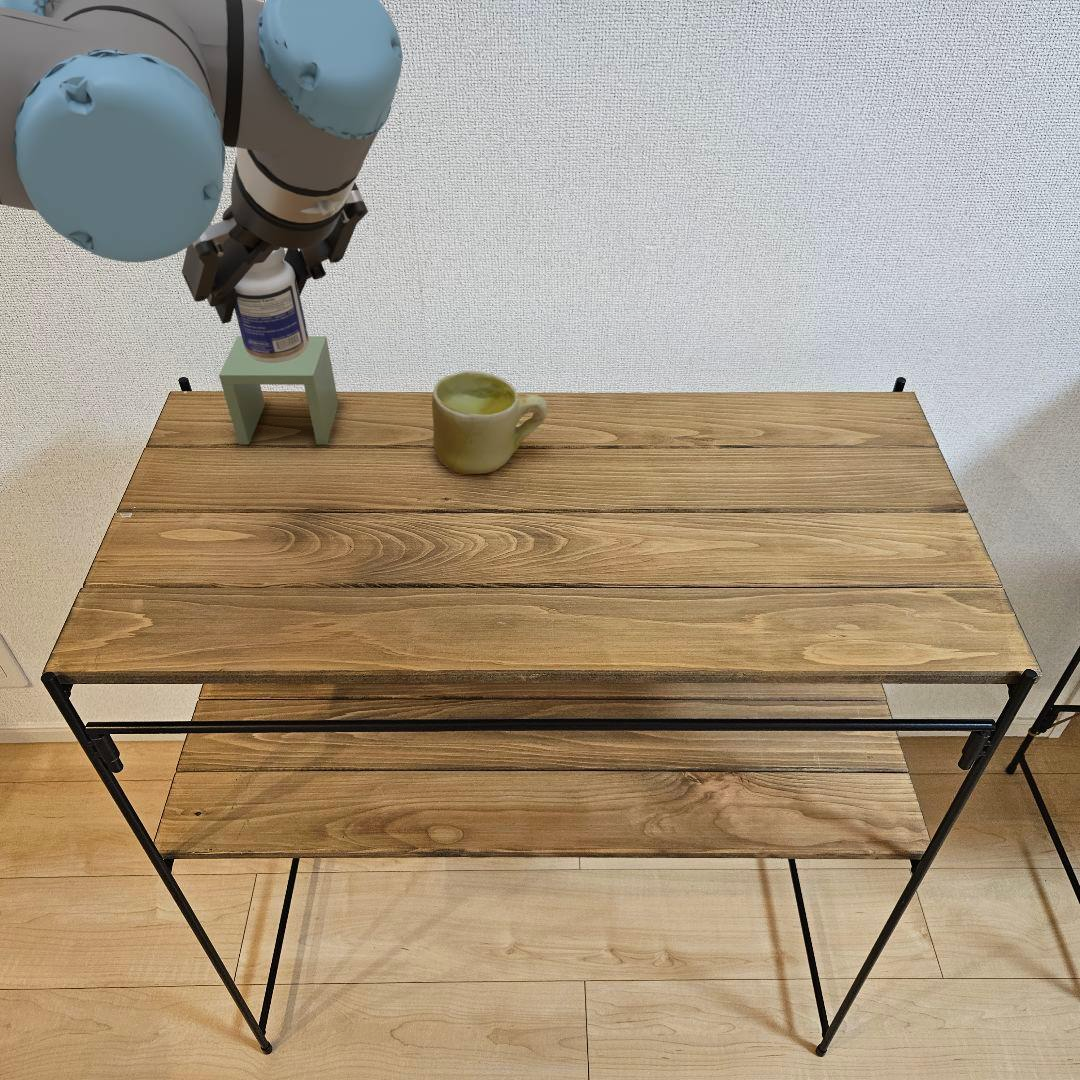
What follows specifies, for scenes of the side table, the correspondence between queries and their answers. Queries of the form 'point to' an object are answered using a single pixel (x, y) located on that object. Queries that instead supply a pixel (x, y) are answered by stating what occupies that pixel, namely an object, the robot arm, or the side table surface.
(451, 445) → the mug
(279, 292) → the pill bottle
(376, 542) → the side table surface
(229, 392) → the shelf
